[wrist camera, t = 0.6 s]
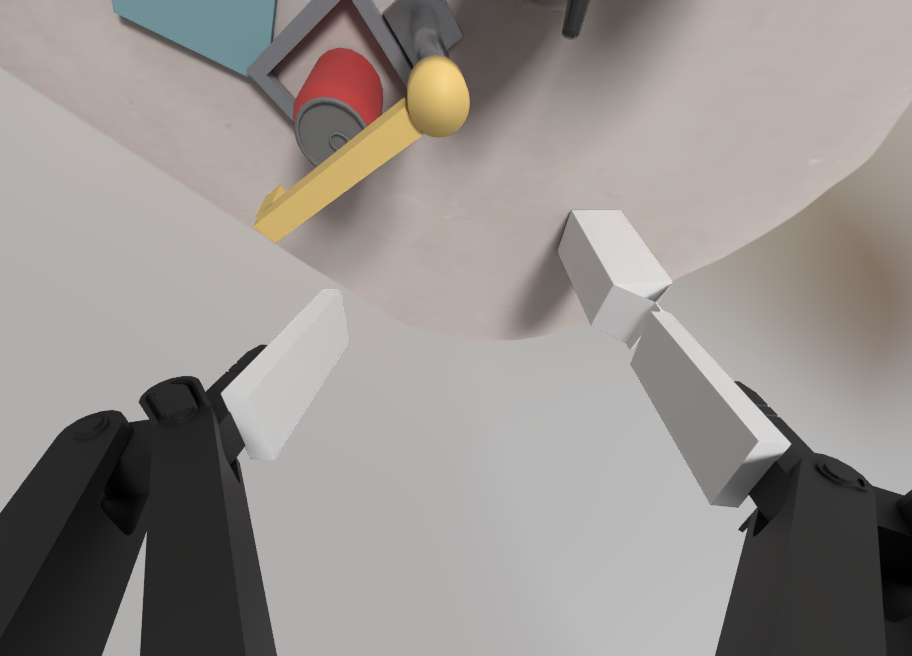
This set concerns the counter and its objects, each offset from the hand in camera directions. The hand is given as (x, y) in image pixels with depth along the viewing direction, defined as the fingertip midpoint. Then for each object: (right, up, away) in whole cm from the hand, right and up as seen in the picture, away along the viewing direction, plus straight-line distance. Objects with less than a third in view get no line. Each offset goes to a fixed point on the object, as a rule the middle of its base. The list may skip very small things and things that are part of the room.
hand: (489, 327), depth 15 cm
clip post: (-4, +27, +15) cm, 31 cm away
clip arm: (-8, +12, +7) cm, 16 cm away
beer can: (-12, +24, +19) cm, 32 cm away
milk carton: (+18, +14, +35) cm, 42 cm away
